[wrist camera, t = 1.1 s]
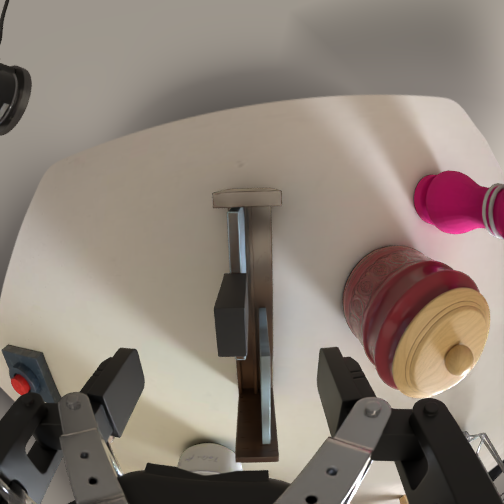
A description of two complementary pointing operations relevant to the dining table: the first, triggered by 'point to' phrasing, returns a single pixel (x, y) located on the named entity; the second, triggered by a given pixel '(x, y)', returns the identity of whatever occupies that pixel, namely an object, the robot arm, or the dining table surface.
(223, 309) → the window pane
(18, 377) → the button
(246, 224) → the window frame
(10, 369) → the button box
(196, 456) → the teacup
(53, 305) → the dining table surface
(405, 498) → the planter
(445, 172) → the pepper mill
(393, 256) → the kitchen canister
